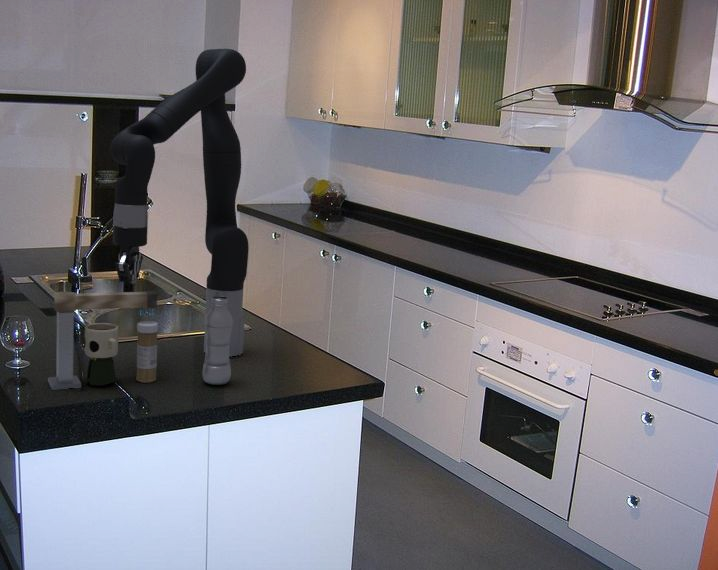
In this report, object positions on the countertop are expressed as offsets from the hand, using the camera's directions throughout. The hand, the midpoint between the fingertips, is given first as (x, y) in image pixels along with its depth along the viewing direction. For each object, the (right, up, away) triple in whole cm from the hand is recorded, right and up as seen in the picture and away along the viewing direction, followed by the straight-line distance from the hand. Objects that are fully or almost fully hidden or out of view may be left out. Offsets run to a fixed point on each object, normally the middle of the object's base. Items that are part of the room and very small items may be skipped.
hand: (128, 298), depth 198 cm
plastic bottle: (+20, -19, -1) cm, 28 cm away
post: (-11, -19, -10) cm, 24 cm away
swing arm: (-3, -2, -9) cm, 9 cm away
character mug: (-4, -19, -7) cm, 21 cm away
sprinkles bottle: (+5, -19, -2) cm, 19 cm away
